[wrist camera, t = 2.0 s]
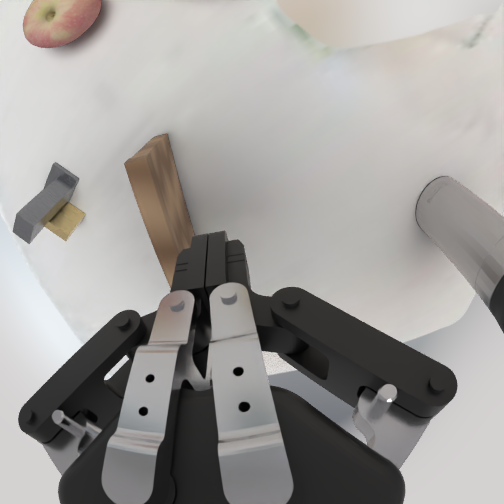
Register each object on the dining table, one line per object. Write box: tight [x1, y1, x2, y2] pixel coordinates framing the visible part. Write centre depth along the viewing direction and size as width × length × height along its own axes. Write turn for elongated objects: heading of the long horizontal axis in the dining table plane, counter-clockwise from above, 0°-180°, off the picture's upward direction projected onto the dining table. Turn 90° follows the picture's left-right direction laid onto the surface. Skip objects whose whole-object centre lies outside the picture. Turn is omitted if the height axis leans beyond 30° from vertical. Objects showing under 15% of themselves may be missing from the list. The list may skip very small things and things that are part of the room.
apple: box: [23, 0, 101, 48], centre depth 13 cm, size 8×8×8 cm
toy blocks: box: [13, 162, 85, 244], centre depth 24 cm, size 7×5×10 cm
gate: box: [124, 134, 195, 288], centre depth 28 cm, size 20×2×10 cm, turn 8°
